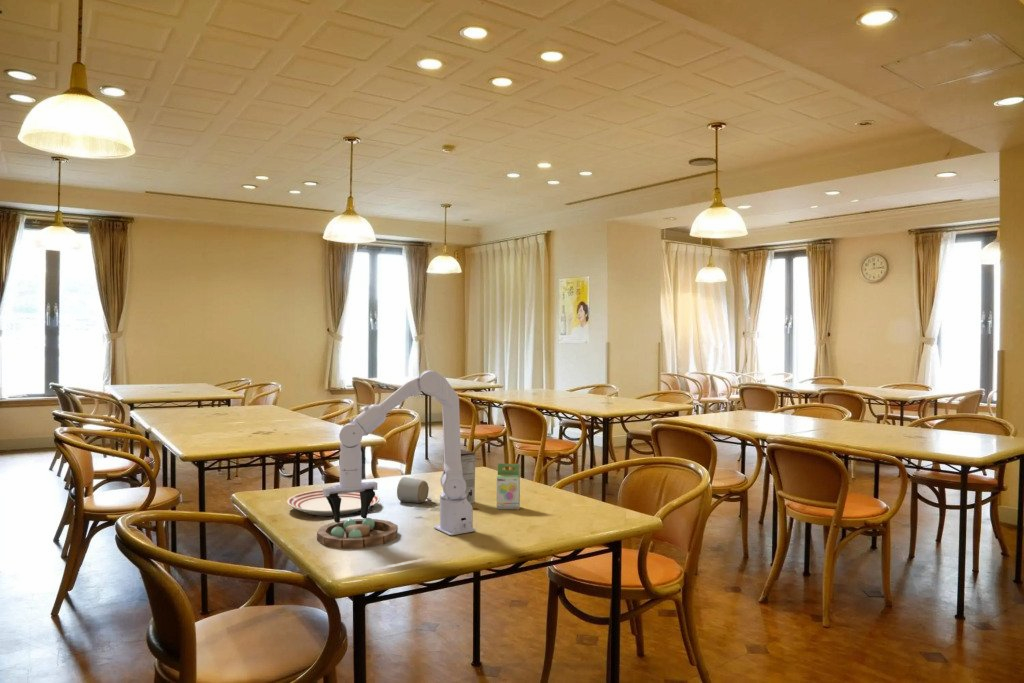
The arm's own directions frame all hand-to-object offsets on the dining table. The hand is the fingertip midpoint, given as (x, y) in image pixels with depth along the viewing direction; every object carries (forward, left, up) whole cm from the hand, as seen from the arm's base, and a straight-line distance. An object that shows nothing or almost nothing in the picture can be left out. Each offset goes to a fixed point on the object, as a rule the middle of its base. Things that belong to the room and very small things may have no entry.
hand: (350, 519), depth 188 cm
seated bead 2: (-10, +3, -3) cm, 11 cm away
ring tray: (-6, 0, -4) cm, 7 cm away
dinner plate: (+29, -7, -4) cm, 30 cm away
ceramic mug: (+24, -31, -4) cm, 40 cm away
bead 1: (0, 0, -3) cm, 3 cm away
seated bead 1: (-6, +6, -3) cm, 9 cm away
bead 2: (-2, -4, -3) cm, 5 cm away
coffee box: (+15, -43, -4) cm, 46 cm away
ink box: (-1, -51, -4) cm, 51 cm away
